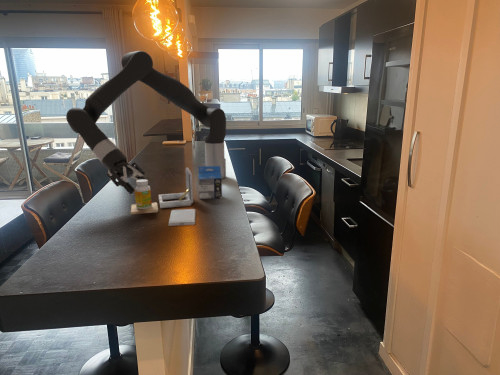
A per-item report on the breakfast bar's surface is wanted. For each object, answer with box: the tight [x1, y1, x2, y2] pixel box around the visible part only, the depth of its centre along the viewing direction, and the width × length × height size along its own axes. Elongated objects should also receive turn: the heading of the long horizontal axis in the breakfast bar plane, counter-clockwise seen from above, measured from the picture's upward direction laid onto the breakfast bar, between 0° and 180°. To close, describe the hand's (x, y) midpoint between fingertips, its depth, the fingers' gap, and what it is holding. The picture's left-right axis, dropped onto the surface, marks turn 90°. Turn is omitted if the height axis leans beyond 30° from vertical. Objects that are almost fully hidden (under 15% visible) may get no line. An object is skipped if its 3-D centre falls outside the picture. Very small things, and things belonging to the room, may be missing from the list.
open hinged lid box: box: [158, 167, 194, 209], centre depth 131 cm, size 12×11×12 cm
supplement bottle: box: [134, 178, 153, 209], centre depth 123 cm, size 5×5×10 cm
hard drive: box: [168, 208, 196, 227], centre depth 115 cm, size 2×8×12 cm
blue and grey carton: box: [197, 165, 223, 200], centre depth 137 cm, size 9×4×12 cm, turn 99°
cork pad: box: [130, 201, 159, 215], centre depth 124 cm, size 9×9×1 cm
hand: (140, 189), depth 123 cm, fingers open, 8 cm apart
